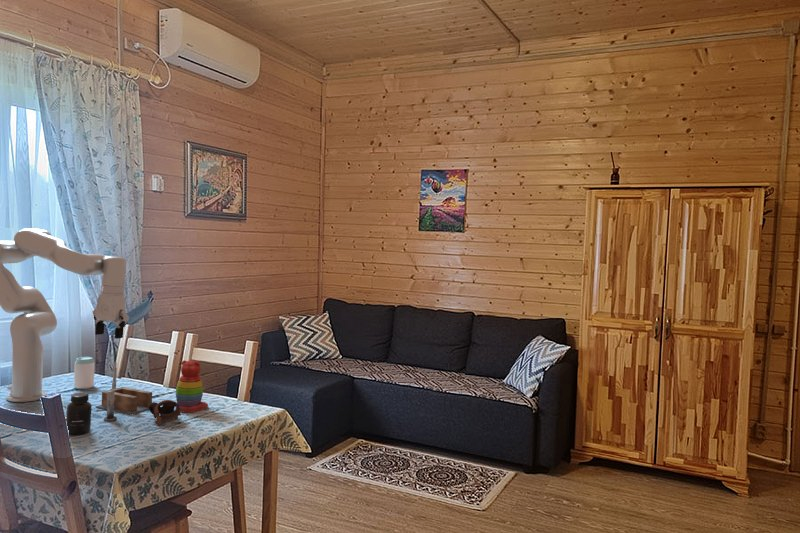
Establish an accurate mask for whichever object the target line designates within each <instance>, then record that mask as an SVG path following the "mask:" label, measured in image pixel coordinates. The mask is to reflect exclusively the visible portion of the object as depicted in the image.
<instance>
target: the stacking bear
mask: <svg viewBox="0 0 800 533" xmlns="http://www.w3.org/2000/svg"><path fill="white" fill-rule="evenodd" d="M201 369H202V368H201V363H200V362H199V361H198V360H197V361H195V360H182V361H181V367H180V372H181V376H180V377H179V379H178V381H177V385H176V387H175V397H176V402H177V403H178V404H179V407H180V408H181V409H180V410H179V411H180V413H194V412H195V413H196V412H199V411H203V410H206V409H207V408H208V407H209V404H208V403H207V402H205V401H202V398H203V395H204V388H203V387H204V386H203V381H202V378H201V377H200V372H201ZM205 408H206V409H205Z"/></svg>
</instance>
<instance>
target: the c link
mask: <svg viewBox="0 0 800 533" xmlns="http://www.w3.org/2000/svg"><path fill="white" fill-rule="evenodd" d="M111 389H112V388H111ZM107 391H115V397H114V408H115V409H120V410H125V411H130V412H133V411H137V405H139V406H145V407H149V405H150V404H151V403H153V392H152V391H148V390H142V389H136V388H130V387H126V386H121V387H116V389H112V390H110V389H109V390H105V391H102V392H101V405H102V406H105V407H107Z"/></svg>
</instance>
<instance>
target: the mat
mask: <svg viewBox="0 0 800 533" xmlns="http://www.w3.org/2000/svg"><path fill="white" fill-rule="evenodd" d="M95 408H96V409H100V410H105V411H107V407H105V406H102V404H99V405H95ZM148 410H149V407H145V406H139V405H137V411H133V412H130V411H125V410H120V409H115V408H114V413H121V414H125V415H126V414H127V415H130V414H131V415H132V414H133V415H136V414H139V413H142V412H145V411H148ZM149 411H150V410H149ZM133 415H132V416H133Z"/></svg>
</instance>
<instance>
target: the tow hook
mask: <svg viewBox="0 0 800 533" xmlns="http://www.w3.org/2000/svg"><path fill="white" fill-rule="evenodd" d="M117 364H118V362H116V361H114V366H113V368H112V369H113V372H112V382H111V388H110V389H109V390H112V389H116V388H117V374H118V373H117V371H118V368H117Z"/></svg>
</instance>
